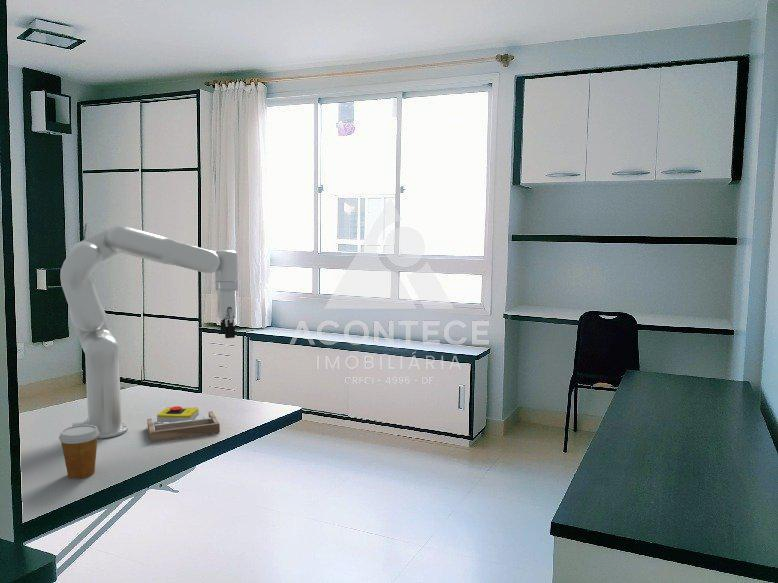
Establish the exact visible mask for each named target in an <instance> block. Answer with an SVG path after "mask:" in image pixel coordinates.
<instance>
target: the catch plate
mask: <svg viewBox="0 0 778 583" xmlns="http://www.w3.org/2000/svg"><path fill="white" fill-rule="evenodd" d="M204 424H211V417H210V418H209V417H203V418H202V419H194V420H186V421H178V422H170V423H154V431H157V430H165V429H173V428H181V427H189V426H196V425H204Z"/></svg>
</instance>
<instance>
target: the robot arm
mask: <svg viewBox="0 0 778 583" xmlns="http://www.w3.org/2000/svg"><path fill="white" fill-rule="evenodd" d="M118 254H123V255H127V256H132V257H136V258H140V259H143V260H147V261H151V262H155V263H159V264H163V265H168V266H169V265H170V266H177V267H181V268H185V269H189V270H193V271H197V272H200V273H203V274H213V273H214V280H215V281H214V282H215V283H214V284H215V286H214V288H215V290H214V291H216V292H217V309H216V310H217V313H216V314H217V315H216V316H217V318H218V319H219V320H220V334H224V338H225V339H234V338H235V337H236V328H235V327H236V326H235V319H236V314H237V313H236V311H237V310H236V309H237V307H236V292H237V291H239V273H238V272H239V271H238V269H239V267H238V262H239V261H238V252H237V251H236V250H233V249H218V250H210V249H205V248H202V247H199V246H195V245H192V244H188V243H185V242H181V241H177V240H175V239H173V238H170V237H166V236H162V235H159V234H156V233H152V232H148V231H144V230H141V229H137V228H133V227H130V226H125V225H114V226H110V227H109V228H106V229H104V230H103V231H101V232H98V233H96V234H94V235H92V236H90V237H88V238H85V239H83V240H81V241H79V242H77V243H75V244H73V246H72V247H71V249H70V251H69V254H68V255H67V256H66V258H65V260H63V264H62V265H61V269H60V275H59V276H60V277H59V278H60V285H61V288H62V291H63V294H64V297H65V299H66V302H67V304H68V307H69V308H68V309H69V317H70V320H71V324H72V325H73V328H74V331H75V332H76V333H75V334H76V335H77V338H78V341H79V343H80V346H81V348H82V350H83V353H84V355H85V356H84V357H85V381H86V382H85V384H86V399H87V401H86V402H87V418H86V419H87V420H83V421H82V422H79V421H78V422H72V426H77V425H94V426H96V427H97V429H98V431H99V435H98V438H97V440H98V439H109V438H114V437H117V436H120V435H122V433H123V434H124V433H126V432H127V431H128V425H127V424H125V423H123V422H122V421H123V420H122V419H123V418H122V417H123V416H122V401H121V399H122V398H121V395H122V394H121V382H120V380H121V377H120V358H121V356H120V355H121V350H120V345H119V342H118V341H117V339H116V338H115V337H114V336H113V334H112V332H111V329H110V326H109V324H108V321H107V318H106V316H107V315H106V311H105V309H104V307H103V305H102V302H101V301H100V298H99V294H98V293H97V289H96V286H95V284H94V281H93V274H94V271H95V270H96V268H98V267H99V266H100V264H101V263H102V262H104V261H106V260H108V259H111V258H112V257H115V256H116V255H118ZM72 426H71V427H72Z"/></svg>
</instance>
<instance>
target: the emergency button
mask: <svg viewBox="0 0 778 583" xmlns="http://www.w3.org/2000/svg"><path fill="white" fill-rule="evenodd" d="M198 415H200V412H199V407H183V406H178V405H177V406H171V407H169V406H168V407H166V408H164V409H162V410H161V411H160V412H159V413H157V414H156V419H157V422H169V423H170V422H178V421H186V420H194V419H195V418H196V417H197V416H198Z"/></svg>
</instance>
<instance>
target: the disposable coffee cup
mask: <svg viewBox="0 0 778 583" xmlns="http://www.w3.org/2000/svg"><path fill="white" fill-rule="evenodd" d="M98 435H99V431H98V429H97V427H96V426H94V425H77V426H68V427H66V428H63V429H62V430H61V431H60V434H59V436H58V439H59V441H60V443H61V448H62V452H63V453H62V454H63V459H64V463H65V469H66V473H67V477H68V478H69V479H72V478H75V479H74V480H76V478H79V479H85V478H88V477H90V476H93V475H94V474H95V470H96V460H97V459H96V458H97V448H98V439H97V438H98Z"/></svg>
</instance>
